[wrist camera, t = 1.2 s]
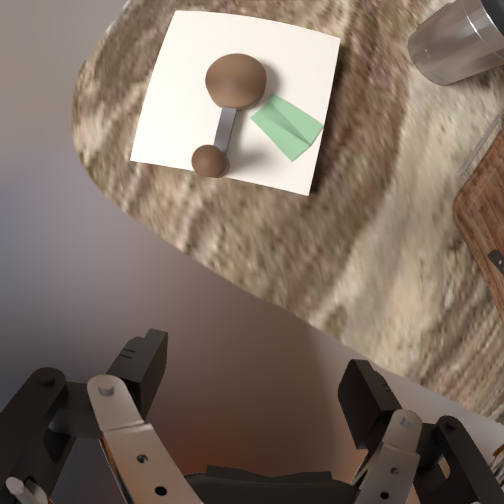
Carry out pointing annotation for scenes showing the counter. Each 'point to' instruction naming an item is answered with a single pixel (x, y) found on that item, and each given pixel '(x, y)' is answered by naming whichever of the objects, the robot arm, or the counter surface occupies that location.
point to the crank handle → (228, 106)
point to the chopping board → (485, 213)
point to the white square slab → (246, 122)
